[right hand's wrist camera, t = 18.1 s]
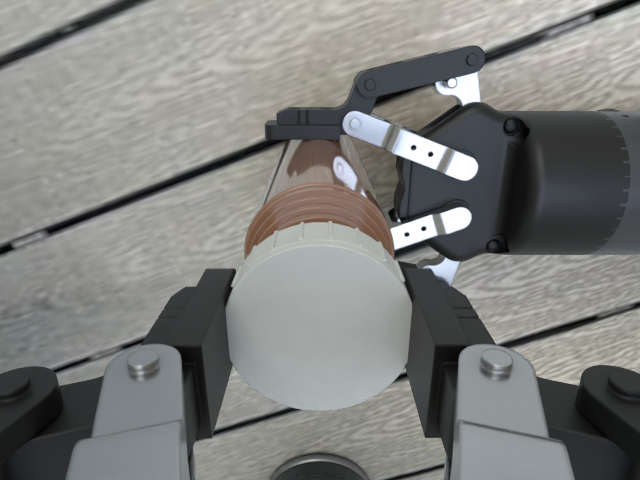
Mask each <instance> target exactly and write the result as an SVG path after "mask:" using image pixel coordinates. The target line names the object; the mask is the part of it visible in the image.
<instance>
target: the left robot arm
mask: <svg viewBox="0 0 640 480" xmlns="http://www.w3.org/2000/svg"><path fill="white" fill-rule="evenodd" d="M484 62H485V54H484V51H483V50H482V49H481V48H480V47H478V46H465V47H456V48H452V49H448V50H444V51H440V52H436V53H432V54H428V55H424V56H420V57H416V58H411V59H407V60H403V61H399V62H395V63H391V64H387V65H383V66H379V67H375V68H371V69H367V70H363V71H360V72H359V73H358V74H357V75H356V76H355V78H354V83H353V86H352V88H351V91H350V94H349V96H348V99H347V100H346V102H345V103H344V104H342V105H341V106H338V107H288V108H285V109H283V110H280V111H279V112H278V113H277V120H271V121H267V122H266V124H265V138H266V139H270V140H318V139H320V140H340V135H350V136H352V137H355V138H358V139H360V140H363V141H365V142H368V143H370V144H373V145H376V146H378V147H381V148H383V149H385V150H386V151H388V152H391V153H393V154H396V155H397V161H396V167H397V172H398V177H399V181H398V184H397V187H396V190H395V193H394V205H391V206H389V207H386V208H383V209H382V211H383V213H384V215H385V218H386V220H387V222H388V225H389V227H390V229H391V233H392V236H393V241H394V250H396V249H399V248H402V247H405V246H408V245H411V244H414V243H417V242H420V241H423V242H425V243H426V244H427V245H429V246H430V247H432V248H433V249H434V250H436V251H437V252H439V253H440V254H439V256H437V257H436V258H434V259H423V260H420V261H419V262H418V263H417V264H416V265H415V264H410V263H406V262H401V261H398V264H399V266H400V269H401V271H402V269H403V268H431V269H432V271H433V272H434V274H435V276H436V278H437V280H438V282H439V284H440V285H441V286H451V285H452V282H453V280H454V277H455V274H456V272H457V269H458V267H459V264H460V262H461V261H466V260H469V259H471V258H473V257H475V256H477V255H480V254H485V253H494V254H505V255H630V254H640V112H638V111H619V110H614V109H603V110H597V111H498V110H495V109H493V108H492V107H490V106H489V105H487V104H485V103H482V102H481V98H480V88H479V78H478V71H479V70H480V69H481V68H482V67H483V65H484ZM427 84H431V85H432V88H433V90H434V91H435V92H436V93H438V94H442V95H452V96H453V97H454V98H455V99H456V101H457V105H455V106H454V107H452V108H451V109H450V110H448V111H447V112H445V113H444V114H442V115H441V116H439V117H438V118H437V119H435V120H434V121H432V122H431V123H429V124H428V125H427V126H425V127H424V128H422V129H421V130H419V131H416V130H414V129H411V128H409V127H406V126H404V125H401V124H398V123H396V122H393V121H391V120H388V119H385V118H382V117H379V116H377V115H374V114H372V113H371V112H372V109H373V107H374V104H375V102H376V99H377V97H378V96H382V95H386V94H390V93H394V92H398V91H403V90H407V89H411V88H415V87H419V86H423V85H427ZM396 215H398V216H396ZM406 232H407V233H406ZM394 261H395V260H394ZM271 480H368V478H367V476H366V474H365V473H364V472H363V471H362V470H361V469H360V468H359V467H358V466H357V465H355V464H354V463H352V462H350V461H348V460H346V459H344V458H341V457H338V456H333V455H327V454H312V455H306V456H301V457H298V458H295V459H293V460H291V461H289V462H287V463H285V464H284V465H282V466H281V467H280V468H279V469H278V470H277V471H276V472H275V473H274V474H273V476H272V478H271Z"/></svg>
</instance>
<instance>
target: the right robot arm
mask: <svg viewBox="0 0 640 480" xmlns="http://www.w3.org/2000/svg"><path fill="white" fill-rule="evenodd" d="M402 274H403V276H404V279H405V281H404V283H405V286H406V288H407V291H408V294H409V296H410V299H411V301H412V315H411V327H410V339H409V351H408V362H407V364H406V366H405V367H406V371H407V374H408V378H409V382H410V385H411V389H412V392H413V396H414V399H415V403H416V407H417V410H418V414H419V417H420V421H421V424H422V428H423V432H424V435H425V438H441V439H442V442H443V445H444V448H445V451H446V458H445V468H444V480H640V374H639V373H636V372H634V371H631V370H628V369H625V368H621V367H616V366H608V365H598V366H592V367H589V368H587V369H586V370H585V371H584V372H583V373H582V376H581V380H580V384H579V386H577V385H572V384H567V383H562V382H557V381H552V380H548V379H543V378H540V377H536V373H535V370H534V367H533V366H532V364H531V363H530V362H529V361H528V360H527V359H526V358H525V357H524V356H522V355H521V354H519V353H517V352H515V351H513V350H511V349H509V348H506V347H502V346H498V345H496V344H495V342H494V340H493V339H492V337H491V336H490V334H489V332H488V331H487V329H486V328H485V326H484V324H483V323H482V321H481V320H480V319H479V318H478V317H479V316H478V315H477V313H476V312H475V310H474V309H473V307H472V305H471V304H470V302H469V300H468V299H467V297H466V296H465V295H463V294H462V293H461V292H459V291H458V290H456V289H455V288H453V287H452V286H441V285H440V284H439V282H438V280H437V278H436V276H435V274H434V272H433V271H432V269H431V268H403V269H402ZM235 275H236V270H235V269H206V270H205V272H204V274H203V275H202V277H201V279H200V281H199V283H198V285H197V286H196V287H185V288H183V289H182V290H180V291H179V292H177V293H176V294H174V295H173V296H172V297H171V298H170V300H169V301H168V303H167V304H166V306H165V309H164V310H163V311H162V312H161V314H160V315H159V319H157V320H156V322H155V323H154V325H153V327H152V328H151V330H150V331H149V333H148V334H147V336H146V338H145V339H144V341H143V342H142V344H141V345H140V346H138V347H134V348H131V349H129V350H127V351H125V352H123V353H121V354H119V355H118V356H116V357H115V358H114V359H113V360H112V361H111V362H110V363H109V364H108V366H107V367H106V370H105V373H104V376H102V377H99V378H95V379H91V380H87V381H82V382H77V383H72V384H67V385H62V386H59V384H58V380H57V376H56V374H55V373H54V371H52V370H51V369H48V368H45V367H35V366H33V367H24V368H18V369H15V370H11V371H8V372H5V373H2V374H0V480H196V468H195V458H194V451H193V445H194V442H195V439H196V438H212V436H213V432H214V429H215V425H216V422H217V418H218V415H219V411H220V408H221V404H222V401H223V397H224V394H225V390H226V387H227V383H228V380H229V376H230V373H231V369H232V366H233V364H232V362H231V360H230V356H229V344H228V333H227V321H226V304H227V302H228V299H229V296H230V294H231V291H232V289H233V287H231V285H232V282H233V280H234V277H235Z"/></svg>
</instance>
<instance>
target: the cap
mask: <svg viewBox="0 0 640 480" xmlns="http://www.w3.org/2000/svg"><path fill="white" fill-rule="evenodd" d="M404 281H405V279H404V276H403V274H402V271H401V269H400V266H399V264H398V261H397V260H395V261H394V259H393V258H392V257H391V255H390V254H389V253H388V252H387V250H386V249H384V248H383V245H382V243H381V242H380V241H379V242H377V241H375V240H374V239H373V238H371V237H370V236H368V235H366V234H364V233H363V232H361V231H359V228H355V229H354V228H351V227H348V226H344V225H340V224H335V223H332V221H329V222H328V223H327V222H312V223H304V222H301V223H300V224H299V225H295V226H291V227H288V228H286V229H283V230H281V231H278V230H276V231H274V234H273V235H271V236H269V237H268V238H266V239H265V240H264V241H262V242H261V243H260V244H259V245H258V246H256V245H255V246H253V248H252V251H251V253H250V254H249V256H248V257H247V258H246V260H245V261H244V263H243V265H242V266H241V265H239V267H238V270H237V272H236V275H235V277H234V280H233V282H232V285H231V287H233V289H232V291H231V294H230V296H229V299H228V302H227V304H226V321H227V333H228V344H229V356H230V360H231V362H232V364H233V366H234V367H235V369H236V371H237V372H238V373H239V374H240V376H241V377H242V378H243V379H244V380H245V381H246V382H247V383H248V384H249V385H250V386H251V387H252V388H253V389H255V390H256V391H257V392H259V393H260V394H262V395H263V396H265V397H267V398H269V399H270V400H273V401H275V402H277V403H279V404H282V405H285V406H288V407H292V408H297V409H301V410H310V411H329V410H338V409H343V408H347V407H351V406H354V405H357V404H360V403H362V402H364V401H366V400H369V399H371V398H372V397H374V396H376V395H377V394H379V393H380V392H382V391H383V390H384V389H386V388H387V387H388V386H389V385H390V384H391V383H392V382H393V381H394V380H395V379H396V378H397V377H398V376H399V374H400V373H401V372H402V371H403V369H404V368H405V366H406V364H407V362H408V351H409V339H410V327H411V315H412V301H411V299H410V296H409V294H408V291H407V288H406V286H405V283H404Z"/></svg>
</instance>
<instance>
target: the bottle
mask: <svg viewBox="0 0 640 480" xmlns="http://www.w3.org/2000/svg"><path fill="white" fill-rule="evenodd" d="M329 221H332V223H335V224H340V225H344V226H348V227H351V228H354V229H355V228H359V231H361V232H363V233H364V234H366V235H368V236H370V237H371V238H373V239H374V240H375V241H377V242H379V241H380V242H381V243H382V245H383V248H384V249H386V250H387V252H388V253H389V254H390V255H391V257H392V258H393V259H394V241H393V236H392V233H391V229H390V227H389V225H388V222H387V220H386V218H385V215H384V213H383V211H382V208H381V206H380V204H379V201H378V199H377V197H376V195H375V192H374V190H373V188H372V185H371V183H370V181H369V178H368V176H367V174H366V171H365V169H364V167H363V165H362V162H361V160H360V158H359V155H358V153H357V151H356V148H355V146H354V144H353V142H352V140H351V138H350V137H349V136H348V135H340V140H320V139H318V140H286V142H285V144H284V147H283V149H282V151H281V154H280V156H279V158H278V161H277V163H276V165H275V168H274V170H273V172H272V175H271V177H270V179H269V182H268V184H267V186H266V189H265V191H264V193H263V196H262V198H261V200H260V203H259V205H258V207H257V210H256V212H255V215H254V217H253V219H252V222H251V224H250V226H249V229H248V232H247V235H246V239H245V246H244V257H245V260H246V258H247V257H248V256H249V254H250V253H251V251H252V248H253V246H255V245H256V246H258V245H259V244H260V243H261V242H262V241H264V240H265V239H266V238H268V237H269V236H271V235H273V234H274V231H276V230H278V231H281V230H283V229H286V228H288V227H291V226H295V225H299V224H300V223H301V222H304V223H312V222H327V223H328V222H329Z"/></svg>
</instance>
